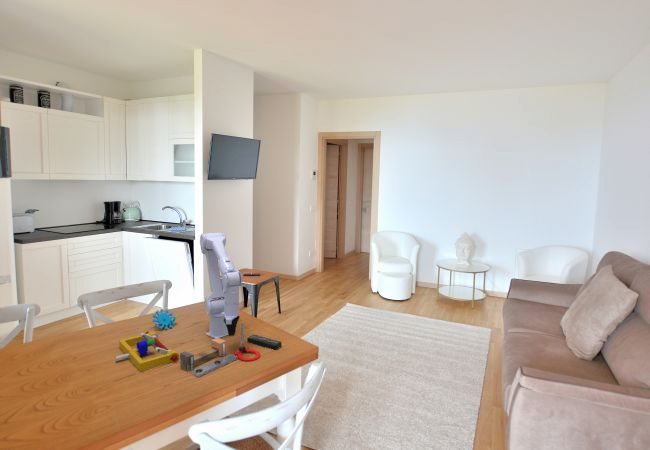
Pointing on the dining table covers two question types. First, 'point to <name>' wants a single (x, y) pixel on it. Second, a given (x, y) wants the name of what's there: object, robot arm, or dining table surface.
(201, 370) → the steel strip
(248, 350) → the tow hook
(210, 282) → the robot arm
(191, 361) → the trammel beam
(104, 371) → the dining table surface
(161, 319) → the gear
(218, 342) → the block
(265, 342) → the multiport hub
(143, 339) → the yellow frame mechanism
